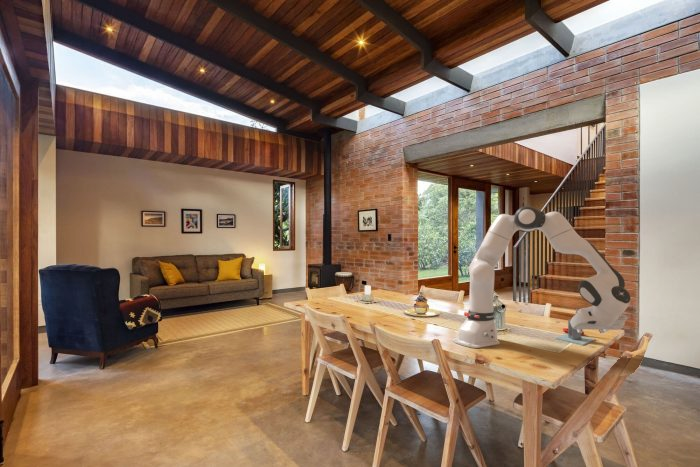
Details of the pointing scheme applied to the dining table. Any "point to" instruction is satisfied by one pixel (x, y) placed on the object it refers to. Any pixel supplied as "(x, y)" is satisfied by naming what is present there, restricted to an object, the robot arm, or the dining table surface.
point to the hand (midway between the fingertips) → (589, 331)
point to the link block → (573, 332)
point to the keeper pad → (581, 342)
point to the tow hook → (567, 329)
